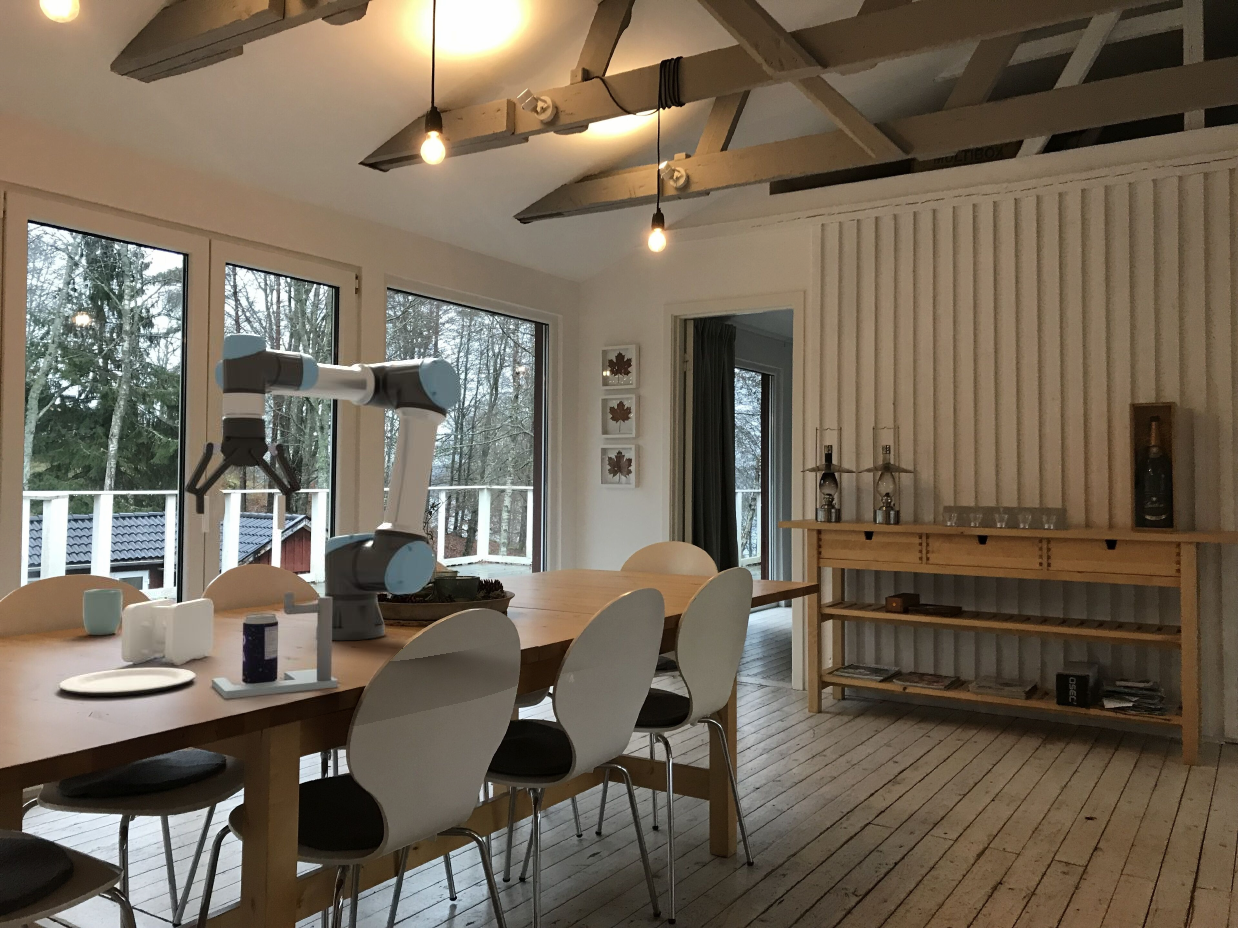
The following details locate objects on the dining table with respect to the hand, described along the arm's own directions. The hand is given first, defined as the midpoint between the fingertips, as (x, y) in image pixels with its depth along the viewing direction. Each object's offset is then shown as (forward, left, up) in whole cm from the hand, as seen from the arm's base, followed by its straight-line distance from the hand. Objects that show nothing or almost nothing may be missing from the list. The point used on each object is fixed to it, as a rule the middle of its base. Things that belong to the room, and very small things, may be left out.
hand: (244, 530), depth 181 cm
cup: (+18, -61, -26) cm, 69 cm away
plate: (+19, +6, -26) cm, 33 cm away
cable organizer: (+10, -17, -26) cm, 33 cm away
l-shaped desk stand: (-2, +19, -26) cm, 32 cm away
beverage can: (0, +17, -26) cm, 31 cm away
